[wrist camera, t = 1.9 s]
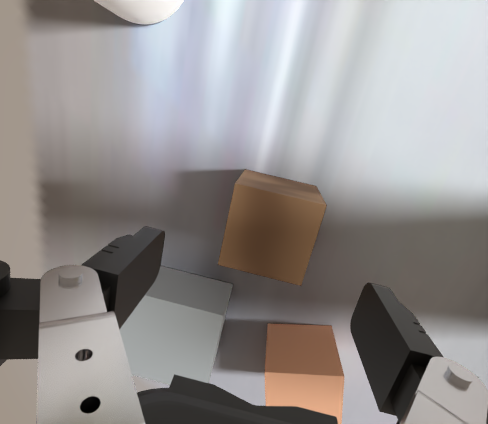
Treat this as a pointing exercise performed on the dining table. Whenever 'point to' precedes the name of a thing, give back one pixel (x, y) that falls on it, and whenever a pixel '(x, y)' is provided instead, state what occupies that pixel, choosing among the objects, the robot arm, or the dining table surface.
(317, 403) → the terracotta cube
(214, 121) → the dining table surface
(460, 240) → the dining table surface
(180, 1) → the can
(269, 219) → the walnut cube
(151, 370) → the base block
